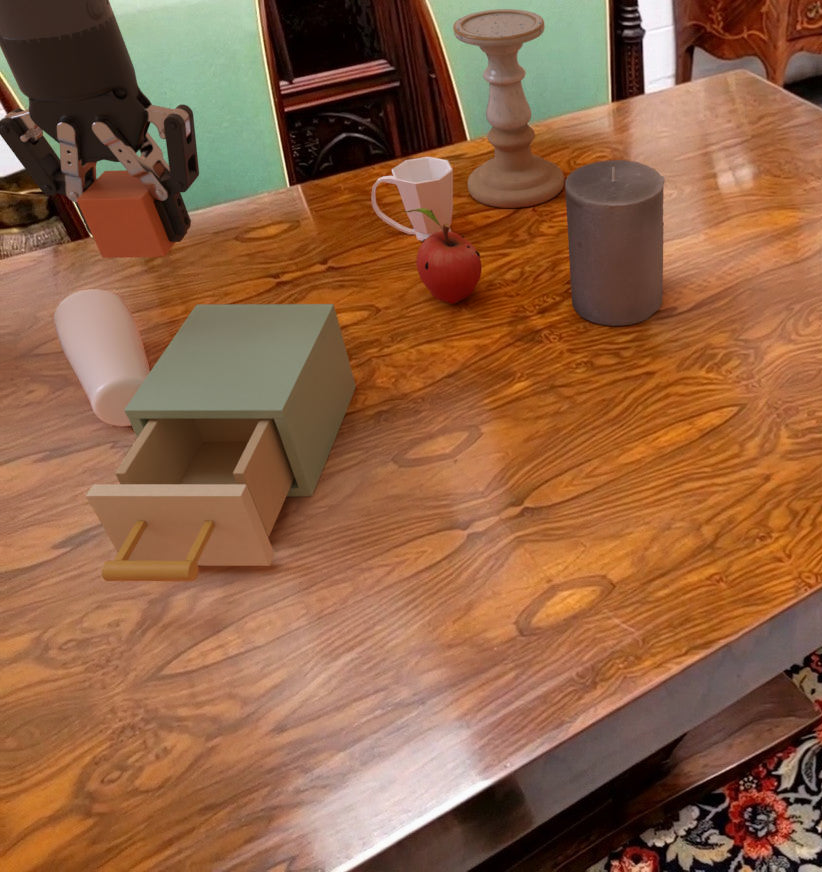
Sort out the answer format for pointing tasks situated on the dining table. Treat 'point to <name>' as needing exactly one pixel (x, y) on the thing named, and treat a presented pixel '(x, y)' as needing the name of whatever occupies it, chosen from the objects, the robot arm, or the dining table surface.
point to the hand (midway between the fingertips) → (144, 237)
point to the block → (123, 217)
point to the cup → (421, 194)
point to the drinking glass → (103, 350)
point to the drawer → (194, 498)
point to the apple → (448, 264)
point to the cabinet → (257, 377)
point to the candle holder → (508, 113)
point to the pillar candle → (615, 241)
